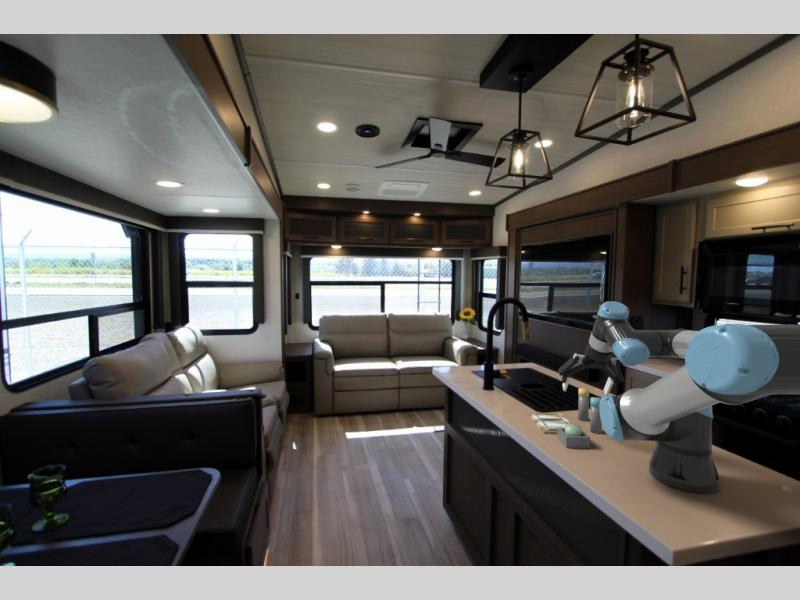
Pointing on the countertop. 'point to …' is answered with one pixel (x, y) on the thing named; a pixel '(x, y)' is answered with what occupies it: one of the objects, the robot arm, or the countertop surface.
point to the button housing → (573, 439)
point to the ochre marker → (583, 404)
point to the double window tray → (549, 422)
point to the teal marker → (595, 416)
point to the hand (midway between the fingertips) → (584, 390)
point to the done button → (573, 430)
